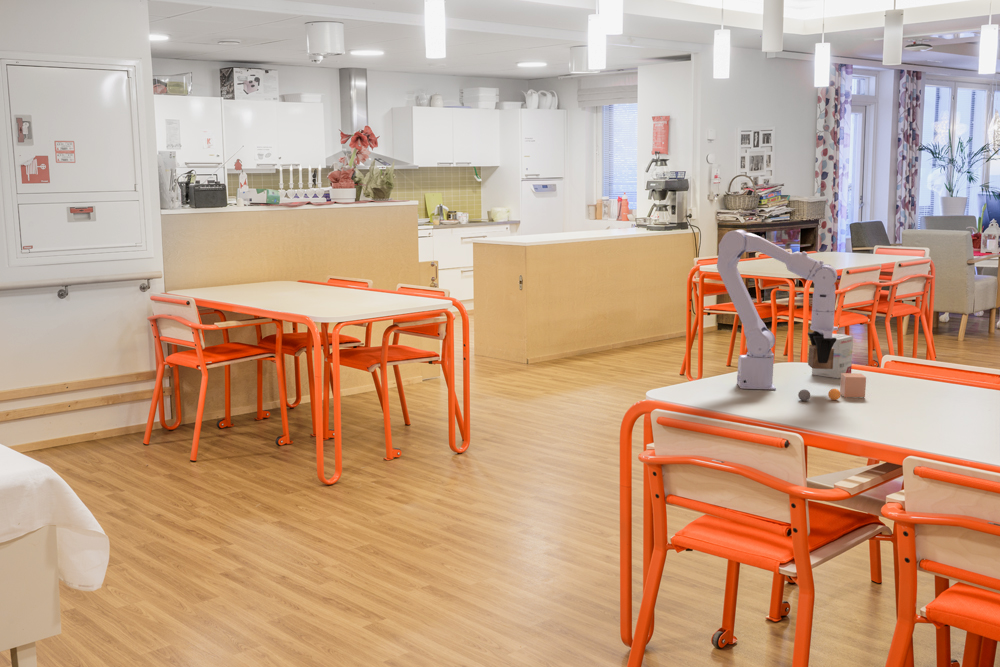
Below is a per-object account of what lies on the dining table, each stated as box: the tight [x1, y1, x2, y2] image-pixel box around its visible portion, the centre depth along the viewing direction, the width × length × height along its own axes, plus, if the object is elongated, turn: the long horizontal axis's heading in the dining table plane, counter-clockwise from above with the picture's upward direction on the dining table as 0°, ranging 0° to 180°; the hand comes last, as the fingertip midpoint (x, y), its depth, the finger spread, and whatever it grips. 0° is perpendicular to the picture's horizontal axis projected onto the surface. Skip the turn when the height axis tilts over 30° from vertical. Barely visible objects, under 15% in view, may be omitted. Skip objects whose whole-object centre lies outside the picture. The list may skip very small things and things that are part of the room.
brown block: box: [807, 344, 834, 369], centre depth 252 cm, size 5×5×6 cm
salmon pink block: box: [839, 372, 867, 398], centre depth 250 cm, size 5×5×6 cm
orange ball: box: [827, 388, 841, 401], centre depth 245 cm, size 3×3×3 cm
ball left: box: [797, 389, 811, 402], centre depth 243 cm, size 3×3×3 cm
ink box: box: [811, 333, 854, 379], centre depth 276 cm, size 9×9×12 cm
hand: (820, 360), depth 252 cm, fingers closed on brown block, 5 cm apart
